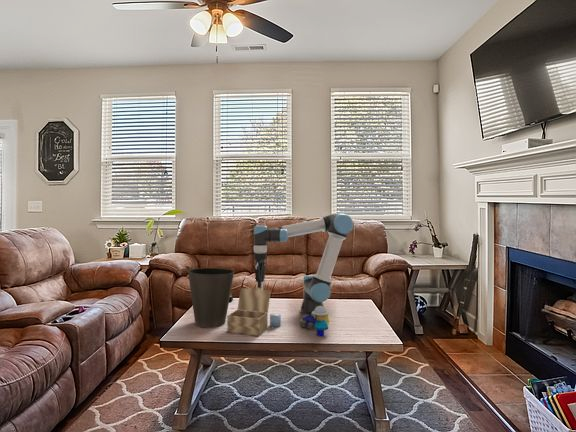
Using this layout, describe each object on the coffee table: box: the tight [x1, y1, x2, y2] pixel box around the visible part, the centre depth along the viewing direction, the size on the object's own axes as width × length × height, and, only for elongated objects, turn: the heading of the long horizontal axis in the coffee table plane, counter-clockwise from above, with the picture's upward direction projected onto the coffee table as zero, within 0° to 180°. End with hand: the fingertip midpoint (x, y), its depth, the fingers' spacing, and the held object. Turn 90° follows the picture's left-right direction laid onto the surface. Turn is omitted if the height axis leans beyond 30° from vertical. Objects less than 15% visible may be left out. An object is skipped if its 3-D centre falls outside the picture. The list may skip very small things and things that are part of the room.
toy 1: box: [300, 313, 330, 331], centre depth 204 cm, size 14×7×15 cm
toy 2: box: [312, 306, 329, 337], centre depth 190 cm, size 8×9×15 cm
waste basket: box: [187, 267, 235, 329], centre depth 207 cm, size 27×20×30 cm
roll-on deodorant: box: [269, 313, 282, 328], centre depth 204 cm, size 6×6×6 cm
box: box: [226, 310, 269, 338], centre depth 195 cm, size 18×12×9 cm, turn 72°
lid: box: [236, 287, 272, 313], centre depth 203 cm, size 18×12×1 cm
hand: (260, 292), depth 212 cm, fingers closed
